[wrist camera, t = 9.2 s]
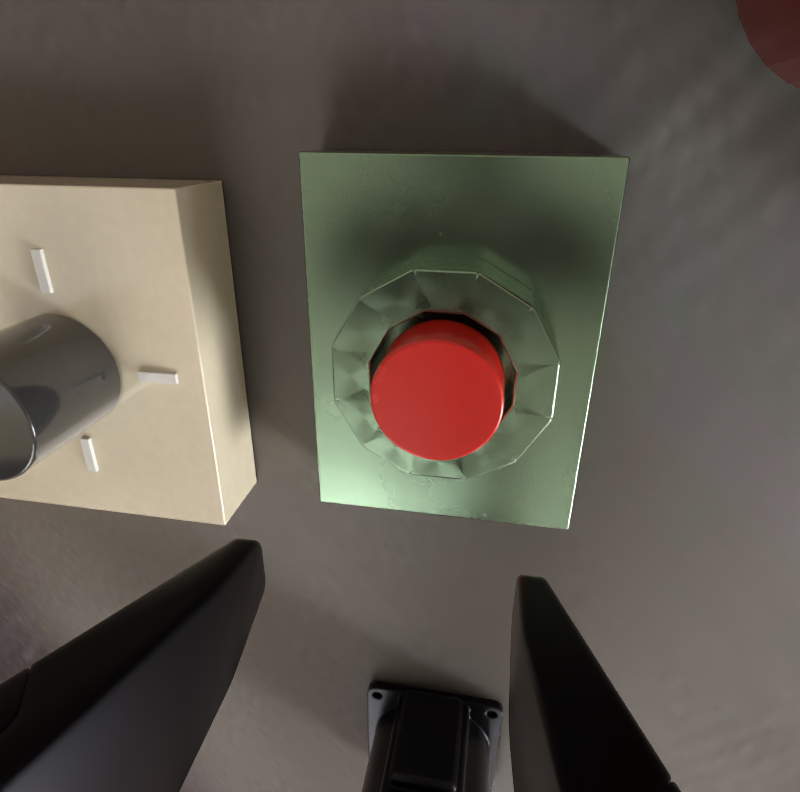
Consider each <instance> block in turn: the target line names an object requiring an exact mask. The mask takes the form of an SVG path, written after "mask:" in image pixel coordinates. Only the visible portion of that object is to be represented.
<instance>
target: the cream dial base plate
mask: <svg viewBox="0 0 800 792" xmlns="http://www.w3.org/2000/svg"><path fill="white" fill-rule="evenodd" d="M42 314H56V315H62V316H65V317H69V318H71V319H74V320H76V321H78V322H80V323H82V324H83V325H85V326H86V327H88V328H89V329H90V330H91V331H93V332H94V333H95V334H96V335H97V336H98V337H99V338H100V339H101V340H102V341H103V342H104V344H105V345H106V346H107V348H108V349H109V350H110V352H111V354H112V356H113V357H114V359H115V362H116V364H117V367H118V370H119V374H120V380H121V390H120V395H119V399H118V401H117V404H116V406H115V407H114V409H113V410H112V411H111V412H110V413H109V414H108V415H106V416H105V417H104V418H102V419H101V420H99V421H98V422H96V423H95V424H94V425H92V426H91V427H89V428H88V429H86V430H85V431H84V432H82V433H81V434H79V435H78V436H76V437H75V438H74V439H72V440H71V441H69V442H68V443H66V444H65V445H64V446H62V447H61V448H59V449H58V450H56V451H55V452H54V453H52V454H51V455H49V456H48V457H46V458H45V459H44V460H42V461H41V462H39V463H38V464H36V465H35V466H34V467H32V468H31V469H29V470H28V471H26V472H25V473H24V474H22V475H21V476H19V477H16V478H14V479H10V480H4V481H0V497H2V498H10V499H18V500H26V501H34V502H42V503H50V504H58V505H67V506H75V507H83V508H91V509H99V510H107V511H115V512H123V513H131V514H139V515H147V516H155V517H163V518H171V519H179V520H187V521H195V522H203V523H211V524H219V525H226V523H227V522H228V521H229V519H230V518H231V517H232V515H233V514H234V512H235V511H236V510H237V508H238V507H239V506H240V504H241V503H242V501H243V500H244V499H245V497H246V496H247V495H248V493H249V492H250V490H251V489H252V488H253V486H254V485H255V484H256V482H257V481H256V472H255V464H254V455H253V446H252V438H251V429H250V421H249V412H248V403H247V395H246V386H245V378H244V369H243V361H242V352H241V343H240V335H239V326H238V318H237V309H236V300H235V292H234V283H233V275H232V266H231V257H230V249H229V240H228V232H227V223H226V214H225V206H224V197H223V189H222V182H221V181H210V180H170V179H129V178H88V177H48V176H7V175H0V329H3V328H5V327H8V326H11V325H13V324H16V323H18V322H21V321H24V320H26V319H29V318H31V317H34V316H37V315H42Z"/></svg>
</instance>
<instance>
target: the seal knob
mask: <svg viewBox="0 0 800 792" xmlns="http://www.w3.org/2000/svg"><path fill="white" fill-rule="evenodd" d="M120 390H121V380H120V374H119V370H118V367H117V364H116V362H115V359H114V357H113V356H112V354H111V352H110V350H109V349H108V348H107V346H106V345H105V344H104V342H103V341H102V340H101V339H100V338H99V337H98V336H97V335H96V334H95V333H94V332H93V331H91V330H90V329H89V328H88V327H86V326H85V325H83V324H82V323H80V322H78V321H76V320H74V319H71V318H69V317H65V316H62V315H56V314H42V315H37V316H34V317H31V318H29V319H26V320H24V321H21V322H18V323H16V324H13V325H11V326H8V327H5V328H3V329H0V481H4V480H10V479H14V478H16V477H19V476H21V475H22V474H24V473H25V472H26V471H28V470H29V469H31V468H32V467H34V466H35V465H36V464H38V463H39V462H41V461H42V460H44V459H45V458H46V457H48V456H49V455H51V454H52V453H54V452H55V451H56V450H58V449H59V448H61V447H62V446H64V445H65V444H66V443H68V442H69V441H71V440H72V439H74V438H75V437H76V436H78V435H79V434H81V433H82V432H84V431H85V430H86V429H88V428H89V427H91V426H92V425H94V424H95V423H96V422H98V421H99V420H101V419H102V418H104V417H105V416H106V415H108V414H109V413H110V412H111V411H112V410H113V409H114V407H115V406H116V404H117V401H118V399H119V395H120Z"/></svg>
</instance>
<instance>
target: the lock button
mask: <svg viewBox="0 0 800 792" xmlns="http://www.w3.org/2000/svg"><path fill="white" fill-rule="evenodd" d="M504 383H505V375H504V368H503V364H502V361H501V359H500V356H499V354H498V352H497V351H496V349H495V347H494V346H493V345H492V344H491V342H490V341H489V340H488V339H487V338H486V337H485V336H484V335H482V334H481V333H480V332H478V331H477V330H475V329H473V328H472V327H470V326H468V325H465V324H463V323H459V322H455V321H450V320H431V321H426V322H422V323H419V324H417V325H414V326H412V327H410V328H408V329H407V330H405V331H404V332H403V333H401V334H400V335H399V336H398V337H397V338H396V339H395V340H394V341H393V343H392V344H391V345H390V347H389V349H388V350H387V352H386V354H385V356H384V357H383V359H382V361H381V363H380V365H379V366H378V368H377V370H376V372H375V374H374V377H373V380H372V384H371V389H370V401H371V407H372V412H373V415H374V417H375V420H376V422H377V424H378V425H379V427H380V429H381V430H382V432H383V433H384V434H385V435H386V436H387V438H388V439H389V440H390V441H392V442H393V443H394V444H395V445H396V446H398V447H399V448H401V449H402V450H404V451H406V452H408V453H410V454H412V455H415V456H417V457H421V458H424V459H430V460H451V459H456V458H460V457H463V456H466V455H468V454H470V453H472V452H474V451H476V450H477V449H479V448H480V447H482V446H483V445H484V444H485V443H487V441H488V440H489V439H490V438H491V437H492V436H493V434H494V433H495V432H496V430H497V428H498V426H499V424H500V422H501V419H502V416H503V410H504Z"/></svg>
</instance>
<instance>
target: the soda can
mask: <svg viewBox="0 0 800 792" xmlns="http://www.w3.org/2000/svg"><path fill="white" fill-rule="evenodd" d="M736 3H737V9H738V15H739V19H740V21H741V23H742V26H743V28H744V31H745V33H746V36H747V38H748V41H749V43H750V45H751V46H752V47H753V49H754V50H755V52H756V53H757V54H758V56H759V57H760V58H761V60H762V61H763V62H764V64H765V65H766V66H767V67H768V68H769V69H770V70H772V71H773V72H774V73H775V74H777V75H778V76H779V77H780V78H781V79H783V80H784V81H785V82H786V83H788V84H791V85H793V86H795V87H797V88H799V89H800V0H736Z"/></svg>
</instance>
